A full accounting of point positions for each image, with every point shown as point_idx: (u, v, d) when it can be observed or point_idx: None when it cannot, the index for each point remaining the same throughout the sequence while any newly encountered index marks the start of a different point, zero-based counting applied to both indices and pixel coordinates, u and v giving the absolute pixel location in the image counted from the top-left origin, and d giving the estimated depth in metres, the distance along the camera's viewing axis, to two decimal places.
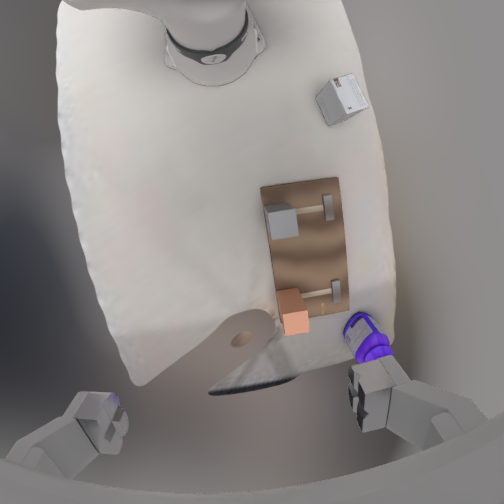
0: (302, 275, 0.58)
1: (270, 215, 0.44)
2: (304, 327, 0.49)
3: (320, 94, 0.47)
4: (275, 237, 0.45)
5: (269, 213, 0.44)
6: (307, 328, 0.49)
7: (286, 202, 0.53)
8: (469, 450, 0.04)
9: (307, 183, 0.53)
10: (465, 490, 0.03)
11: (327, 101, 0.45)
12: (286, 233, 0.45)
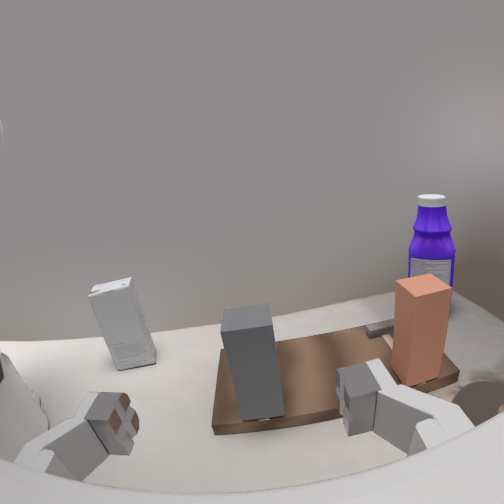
0: None
1: (226, 329, 0.24)
2: (426, 277, 0.26)
3: (110, 346, 0.38)
4: (269, 321, 0.24)
5: (222, 330, 0.24)
6: (426, 275, 0.26)
7: None
8: (469, 450, 0.04)
9: (220, 375, 0.34)
10: (465, 490, 0.03)
11: (116, 331, 0.37)
12: (263, 313, 0.25)
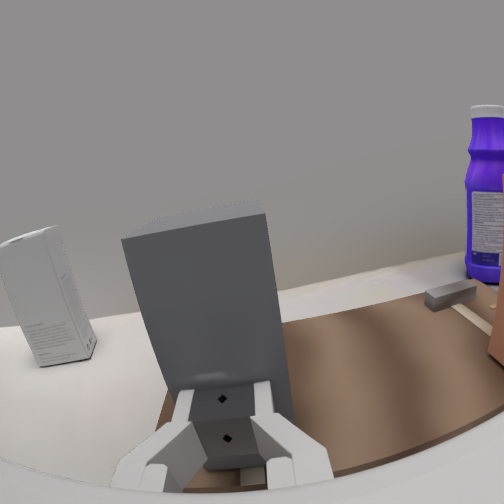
0: (451, 355, 0.15)
1: (138, 234, 0.08)
2: None
3: (24, 329, 0.22)
4: (255, 211, 0.09)
5: None
6: None
7: None
8: (469, 450, 0.04)
9: None
10: (465, 490, 0.03)
11: (30, 304, 0.21)
12: (242, 207, 0.10)
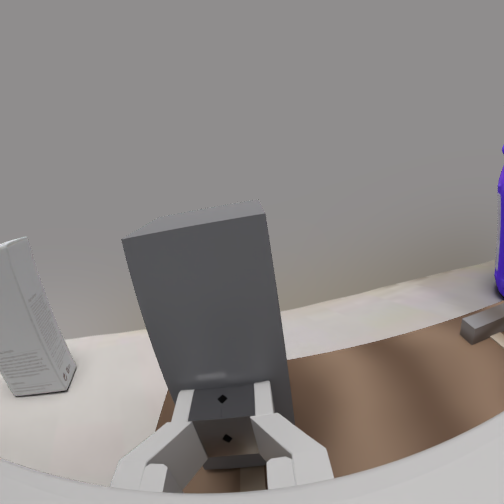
0: (497, 405, 0.10)
1: (138, 234, 0.08)
2: None
3: None
4: (255, 211, 0.09)
5: None
6: None
7: None
8: (469, 450, 0.04)
9: None
10: (465, 490, 0.03)
11: None
12: (242, 207, 0.10)
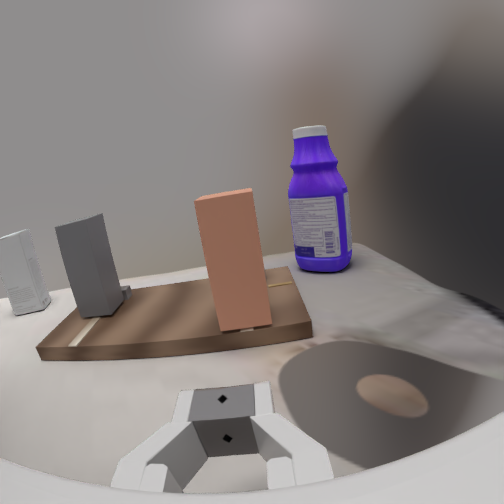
0: (203, 309, 0.29)
1: None
2: (238, 190, 0.24)
3: (7, 290, 0.35)
4: (86, 219, 0.27)
5: (56, 227, 0.27)
6: (242, 189, 0.24)
7: None
8: (469, 450, 0.04)
9: (73, 312, 0.32)
10: (465, 490, 0.03)
11: (11, 275, 0.35)
12: (90, 216, 0.29)
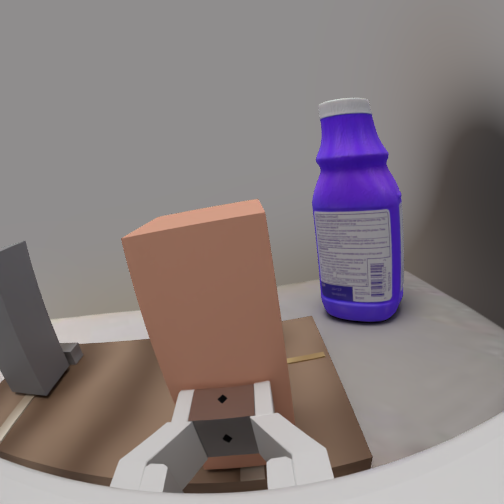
0: None
1: None
2: (232, 204, 0.11)
3: None
4: None
5: None
6: (240, 202, 0.12)
7: None
8: (469, 450, 0.04)
9: None
10: (465, 490, 0.03)
11: None
12: (4, 248, 0.16)
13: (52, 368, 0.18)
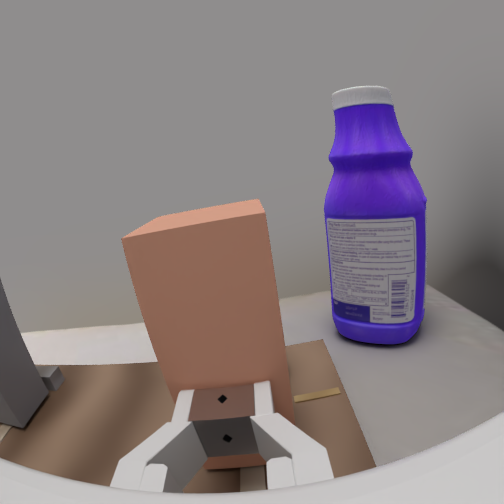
0: None
1: None
2: (232, 204, 0.11)
3: None
4: None
5: None
6: (240, 202, 0.12)
7: None
8: (469, 450, 0.04)
9: None
10: (465, 490, 0.03)
11: None
12: None
13: (28, 397, 0.14)
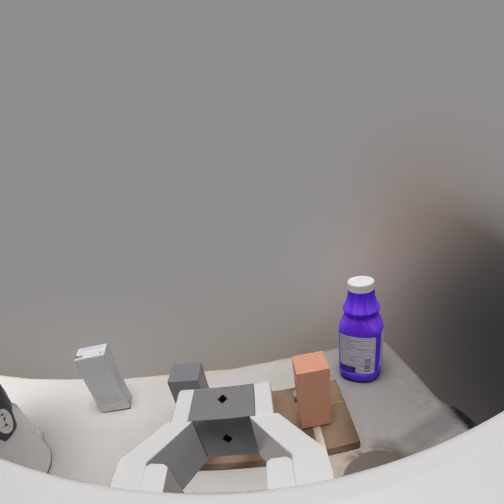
0: None
1: (171, 380, 0.36)
2: (316, 355, 0.37)
3: (94, 395, 0.45)
4: (196, 377, 0.37)
5: (168, 381, 0.36)
6: (317, 352, 0.38)
7: None
8: (469, 450, 0.04)
9: None
10: (465, 490, 0.03)
11: (98, 385, 0.44)
12: (195, 370, 0.38)
13: None
